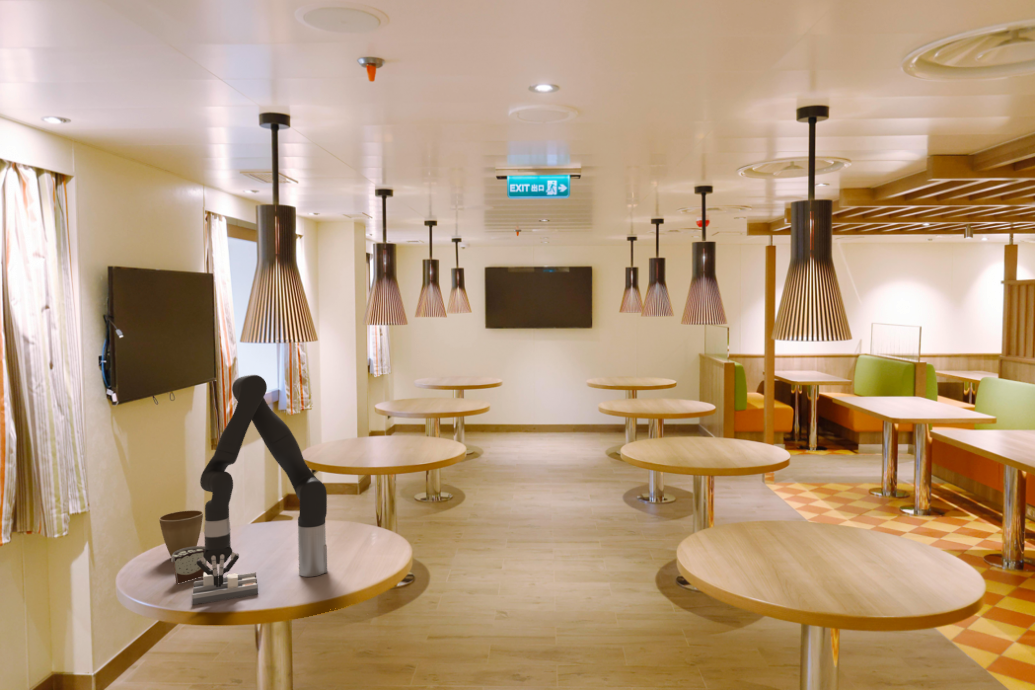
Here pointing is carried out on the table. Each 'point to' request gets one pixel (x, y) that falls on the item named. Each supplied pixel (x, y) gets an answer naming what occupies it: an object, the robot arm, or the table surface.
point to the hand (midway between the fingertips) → (218, 586)
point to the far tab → (208, 579)
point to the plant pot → (181, 529)
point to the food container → (187, 563)
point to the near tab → (232, 580)
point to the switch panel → (225, 589)
